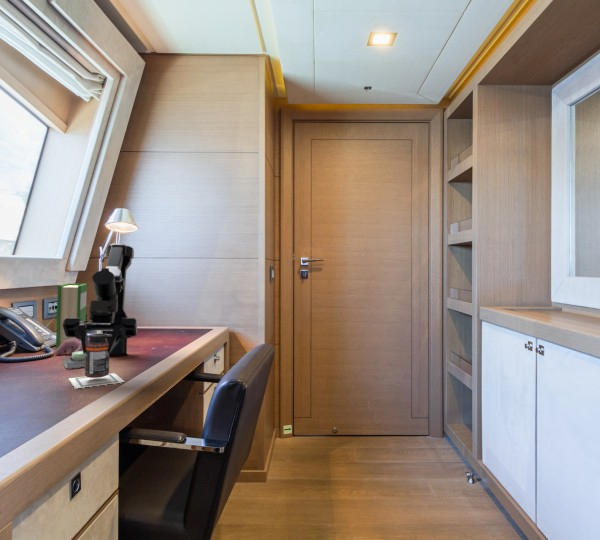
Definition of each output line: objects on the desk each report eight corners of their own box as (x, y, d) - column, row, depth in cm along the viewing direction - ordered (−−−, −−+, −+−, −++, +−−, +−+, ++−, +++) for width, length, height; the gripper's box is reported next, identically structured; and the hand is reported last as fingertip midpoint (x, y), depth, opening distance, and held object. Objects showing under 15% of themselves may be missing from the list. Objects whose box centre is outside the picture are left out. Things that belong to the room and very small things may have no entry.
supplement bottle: (85, 373, 116) (86, 333, 116) (109, 372, 118) (110, 332, 118) (83, 379, 110) (85, 336, 110) (108, 377, 113) (109, 335, 112)
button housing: (93, 360, 138) (93, 354, 138) (99, 365, 131) (99, 360, 131) (62, 363, 133) (62, 357, 133) (66, 369, 126) (67, 363, 126)
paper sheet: (114, 374, 122) (114, 372, 122) (124, 382, 113) (124, 381, 113) (68, 379, 115) (68, 378, 115) (75, 389, 106) (75, 387, 106)
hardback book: (78, 350, 153) (80, 285, 153) (55, 351, 150) (58, 285, 150) (84, 342, 169) (86, 283, 169) (64, 343, 167) (66, 283, 167)
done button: (88, 357, 136) (88, 350, 136) (91, 360, 132) (91, 353, 132) (70, 359, 133) (70, 351, 133) (73, 362, 129) (73, 354, 129)
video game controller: (84, 361, 144) (92, 341, 147) (74, 357, 140) (83, 337, 143) (62, 358, 147) (70, 339, 150) (52, 354, 143) (61, 335, 146)
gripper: (65, 288, 115) (51, 335, 105) (137, 290, 120) (131, 334, 110) (72, 313, 123) (60, 359, 112) (139, 314, 128) (134, 357, 117)
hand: (96, 352), depth 113 cm, fingers closed on supplement bottle, 6 cm apart
